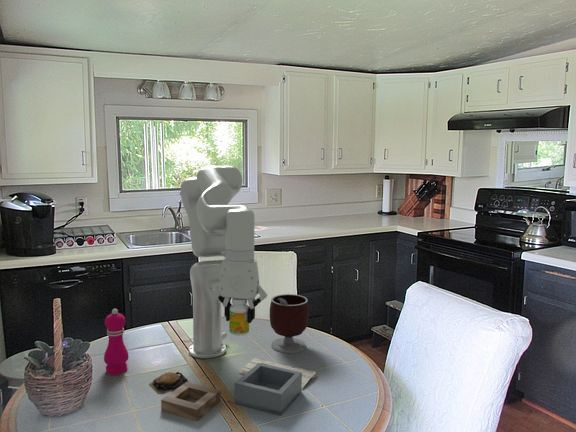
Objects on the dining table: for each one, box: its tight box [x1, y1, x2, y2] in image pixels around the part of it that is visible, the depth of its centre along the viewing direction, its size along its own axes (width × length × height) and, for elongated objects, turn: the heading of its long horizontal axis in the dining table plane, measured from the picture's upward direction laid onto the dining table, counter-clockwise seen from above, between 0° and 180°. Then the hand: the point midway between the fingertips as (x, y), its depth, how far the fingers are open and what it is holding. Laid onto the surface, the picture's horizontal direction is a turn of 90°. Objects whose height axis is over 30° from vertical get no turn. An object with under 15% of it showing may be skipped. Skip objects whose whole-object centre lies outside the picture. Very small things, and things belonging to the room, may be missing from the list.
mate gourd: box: [269, 293, 310, 354], centre depth 173 cm, size 16×14×20 cm
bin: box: [234, 363, 303, 416], centre depth 139 cm, size 14×14×6 cm
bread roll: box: [148, 371, 189, 395], centre depth 146 cm, size 11×8×4 cm
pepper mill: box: [103, 308, 129, 376], centre depth 152 cm, size 7×7×20 cm
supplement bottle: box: [228, 298, 250, 337], centre depth 134 cm, size 5×5×10 cm
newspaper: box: [238, 357, 318, 391], centre depth 154 cm, size 23×12×2 cm, turn 63°
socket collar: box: [160, 381, 222, 422], centre depth 134 cm, size 11×11×3 cm
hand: (239, 319), depth 134 cm, fingers closed on supplement bottle, 5 cm apart
